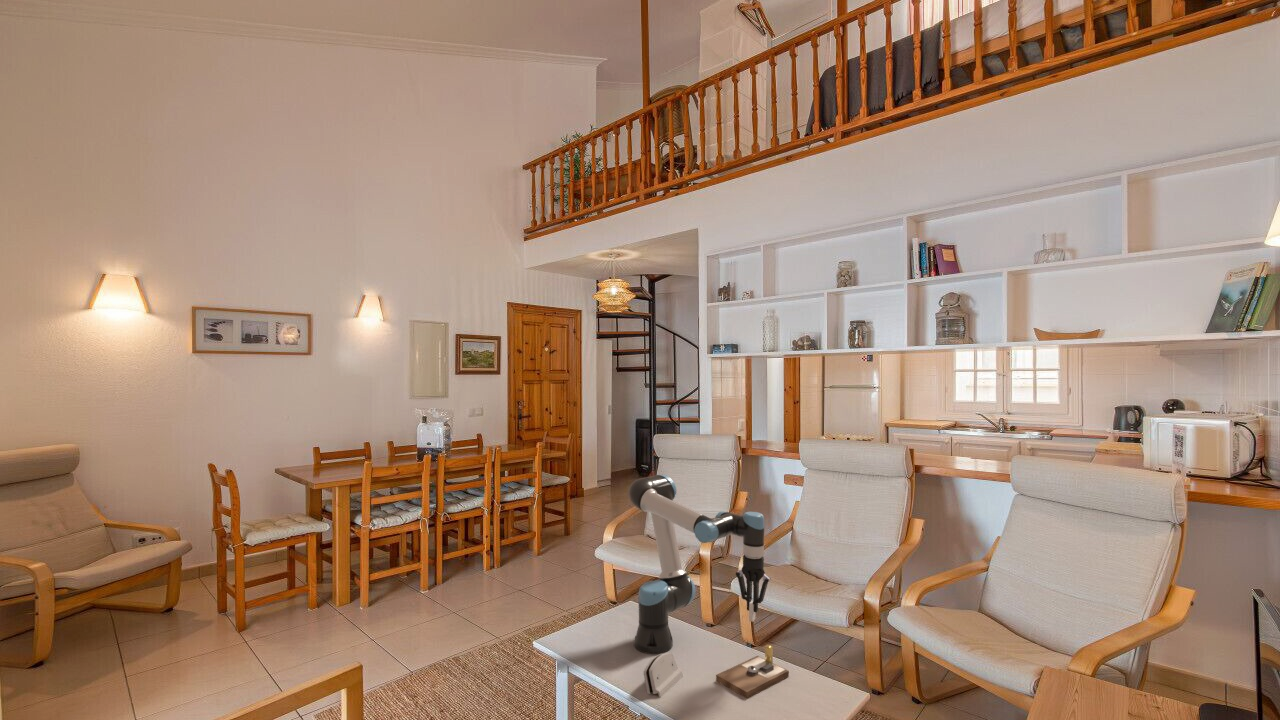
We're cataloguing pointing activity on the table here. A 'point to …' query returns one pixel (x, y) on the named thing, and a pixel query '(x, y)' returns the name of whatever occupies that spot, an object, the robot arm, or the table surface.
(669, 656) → the hinge
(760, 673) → the board
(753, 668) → the swing bar
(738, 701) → the table surface
